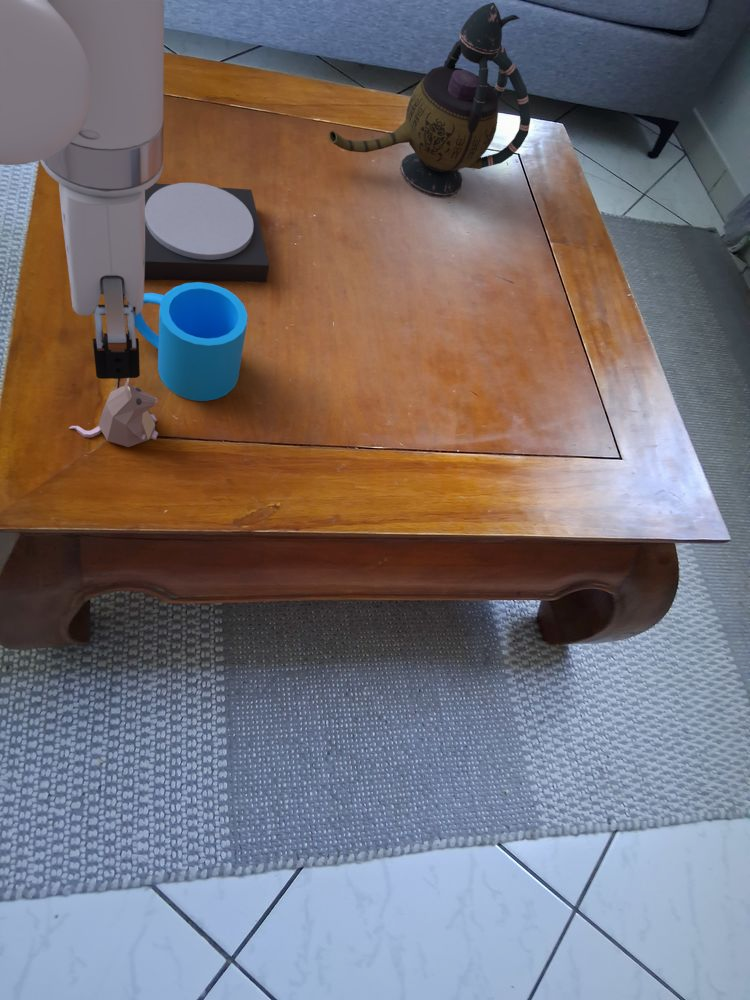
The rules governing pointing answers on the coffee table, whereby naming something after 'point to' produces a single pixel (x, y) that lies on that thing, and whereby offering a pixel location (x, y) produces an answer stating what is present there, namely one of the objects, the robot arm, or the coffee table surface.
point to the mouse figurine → (125, 417)
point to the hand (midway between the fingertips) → (113, 328)
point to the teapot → (456, 112)
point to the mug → (197, 339)
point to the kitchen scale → (203, 234)
